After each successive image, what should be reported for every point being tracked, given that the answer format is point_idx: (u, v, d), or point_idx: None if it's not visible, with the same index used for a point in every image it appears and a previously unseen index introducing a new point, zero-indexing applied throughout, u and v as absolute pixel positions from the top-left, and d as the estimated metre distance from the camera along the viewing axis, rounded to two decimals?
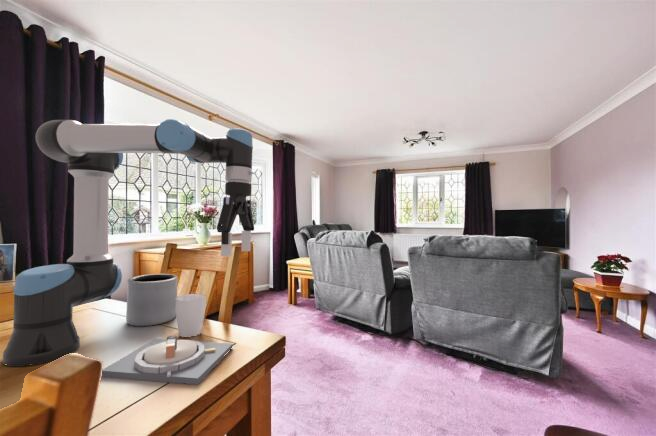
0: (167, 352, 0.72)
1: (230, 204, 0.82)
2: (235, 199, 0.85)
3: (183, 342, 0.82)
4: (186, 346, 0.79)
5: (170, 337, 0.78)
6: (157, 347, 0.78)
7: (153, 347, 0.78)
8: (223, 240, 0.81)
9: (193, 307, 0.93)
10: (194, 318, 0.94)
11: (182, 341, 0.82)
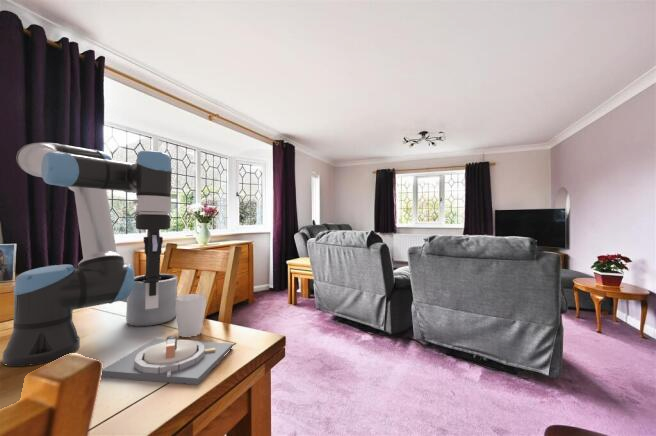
0: (167, 352, 0.72)
1: None
2: None
3: (183, 342, 0.82)
4: (186, 346, 0.79)
5: (170, 337, 0.78)
6: (157, 347, 0.78)
7: (153, 347, 0.78)
8: None
9: (193, 307, 0.93)
10: (194, 318, 0.94)
11: (182, 341, 0.82)
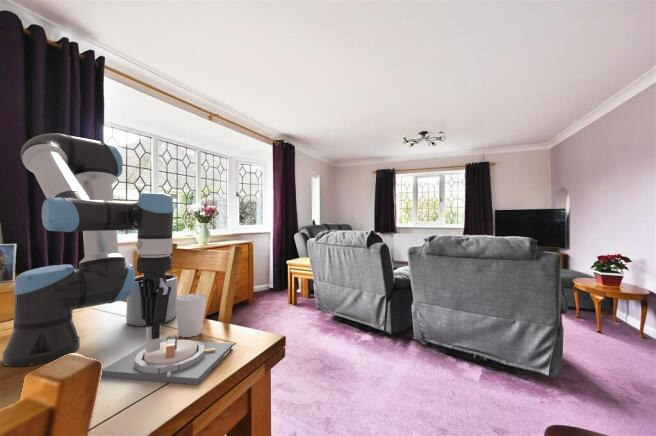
0: (167, 352, 0.72)
1: None
2: None
3: (183, 342, 0.82)
4: (186, 346, 0.79)
5: (170, 337, 0.78)
6: None
7: None
8: None
9: (193, 307, 0.93)
10: (194, 318, 0.94)
11: (182, 341, 0.82)
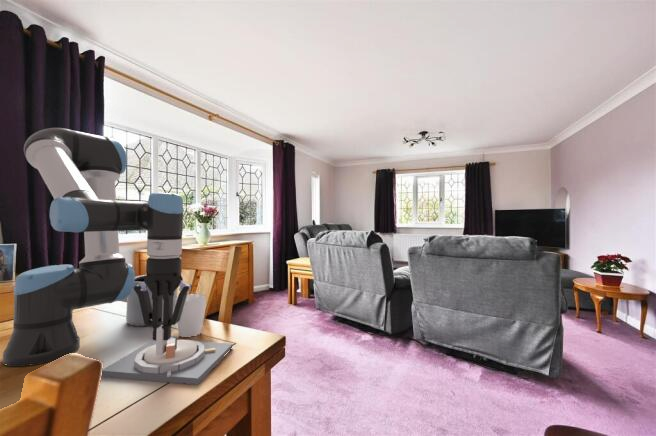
0: (167, 352, 0.72)
1: None
2: (144, 281, 0.72)
3: (183, 342, 0.82)
4: (186, 346, 0.79)
5: (170, 337, 0.78)
6: None
7: (153, 347, 0.78)
8: None
9: (193, 307, 0.93)
10: (194, 318, 0.94)
11: (182, 341, 0.82)
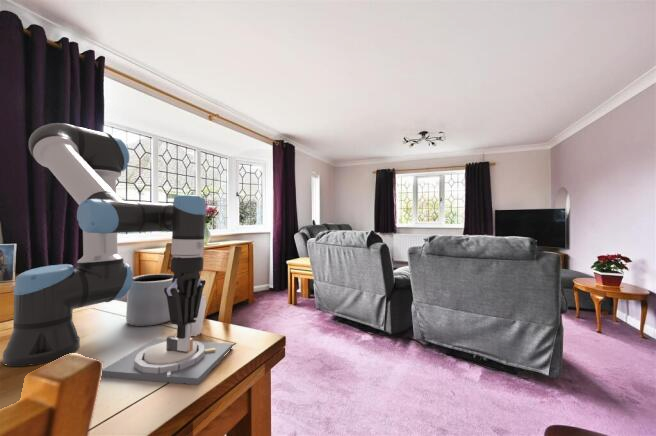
0: None
1: (174, 297, 0.70)
2: (179, 282, 0.71)
3: None
4: None
5: (169, 337, 0.77)
6: (153, 353, 0.75)
7: (149, 355, 0.74)
8: (179, 334, 0.73)
9: None
10: (194, 318, 0.94)
11: (165, 343, 0.81)
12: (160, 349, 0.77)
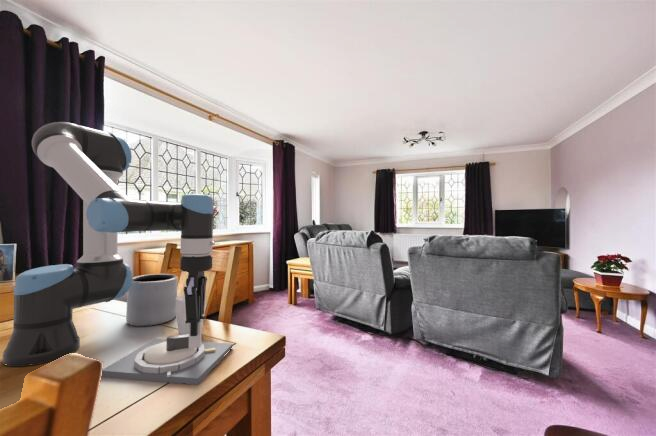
0: None
1: (194, 295, 0.71)
2: (196, 280, 0.73)
3: (157, 347, 0.78)
4: None
5: (169, 338, 0.77)
6: (160, 356, 0.73)
7: (158, 358, 0.72)
8: (192, 332, 0.74)
9: None
10: None
11: (155, 347, 0.78)
12: (161, 352, 0.75)
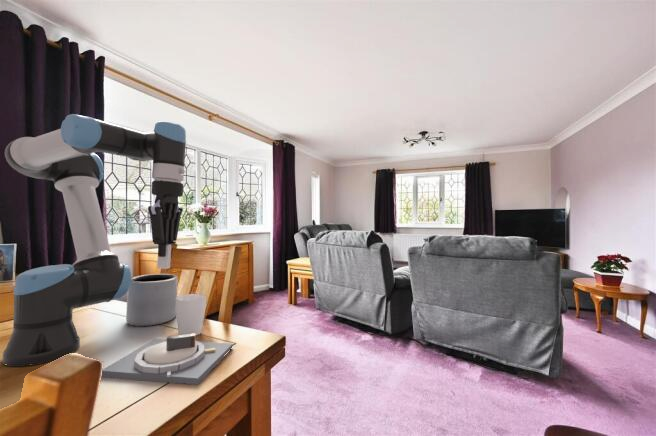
0: None
1: (158, 215, 0.75)
2: (162, 202, 0.77)
3: (157, 347, 0.78)
4: None
5: (169, 338, 0.77)
6: (160, 356, 0.73)
7: (158, 358, 0.72)
8: (160, 252, 0.79)
9: (193, 307, 0.93)
10: (194, 318, 0.94)
11: (155, 347, 0.78)
12: (161, 352, 0.75)
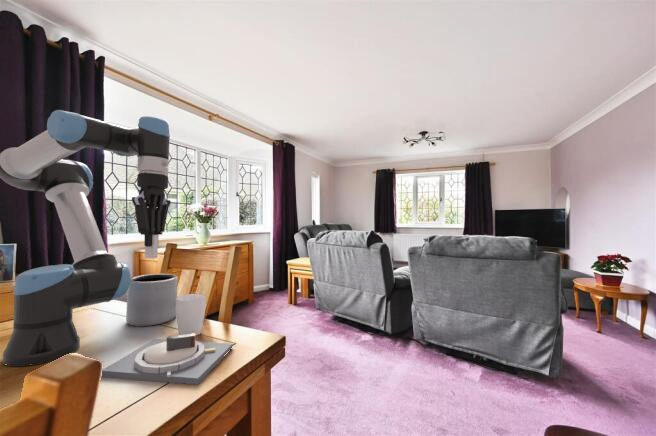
0: None
1: (142, 205, 0.78)
2: (145, 193, 0.79)
3: (157, 347, 0.78)
4: None
5: (169, 338, 0.77)
6: (160, 356, 0.73)
7: (158, 358, 0.72)
8: (146, 242, 0.82)
9: (193, 307, 0.93)
10: (194, 318, 0.94)
11: (155, 347, 0.78)
12: (161, 352, 0.75)
